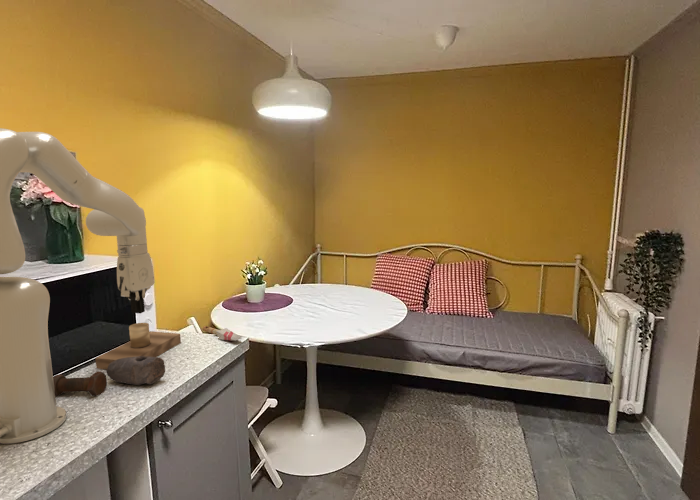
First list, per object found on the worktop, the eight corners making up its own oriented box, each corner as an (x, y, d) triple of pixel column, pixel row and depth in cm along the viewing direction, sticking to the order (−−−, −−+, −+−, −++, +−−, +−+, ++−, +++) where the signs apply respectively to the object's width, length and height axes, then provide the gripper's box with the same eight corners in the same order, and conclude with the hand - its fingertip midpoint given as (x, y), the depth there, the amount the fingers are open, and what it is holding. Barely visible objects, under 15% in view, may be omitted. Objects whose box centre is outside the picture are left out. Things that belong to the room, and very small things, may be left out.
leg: (142, 357, 123) (140, 329, 121) (127, 355, 124) (124, 327, 123) (154, 350, 128) (152, 323, 126) (139, 349, 129) (137, 322, 128)
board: (130, 372, 114) (129, 361, 114) (96, 368, 117) (95, 358, 116) (180, 342, 135) (180, 333, 135) (150, 340, 138) (150, 331, 137)
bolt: (43, 399, 104) (104, 397, 104) (28, 398, 99) (92, 396, 99) (48, 374, 106) (108, 372, 106) (34, 372, 101) (96, 370, 101)
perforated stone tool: (101, 385, 107) (98, 359, 106) (115, 376, 112) (113, 351, 111) (155, 389, 104) (153, 363, 103) (168, 380, 109) (166, 354, 108)
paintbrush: (233, 336, 132) (199, 325, 145) (233, 345, 132) (200, 333, 145) (243, 333, 135) (209, 323, 148) (244, 341, 135) (210, 330, 148)
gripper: (124, 254, 113) (130, 321, 116) (161, 246, 128) (166, 306, 130) (101, 254, 115) (107, 319, 118) (140, 246, 129) (144, 304, 132)
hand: (138, 312), depth 124 cm, fingers closed
